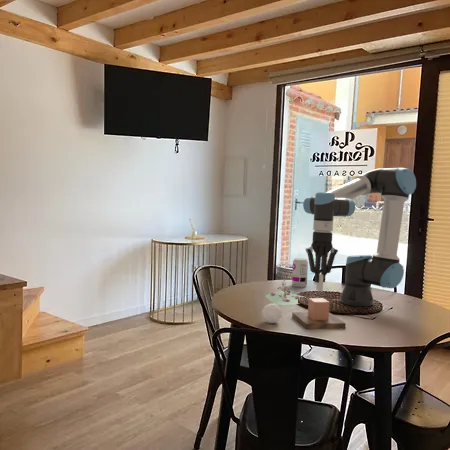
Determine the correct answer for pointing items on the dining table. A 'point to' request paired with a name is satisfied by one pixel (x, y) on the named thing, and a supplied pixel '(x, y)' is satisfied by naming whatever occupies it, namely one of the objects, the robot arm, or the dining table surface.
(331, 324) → the post stand
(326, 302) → the salmon pink block
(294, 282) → the supplement can
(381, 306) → the dining table surface
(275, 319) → the geometric ball
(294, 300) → the plant
